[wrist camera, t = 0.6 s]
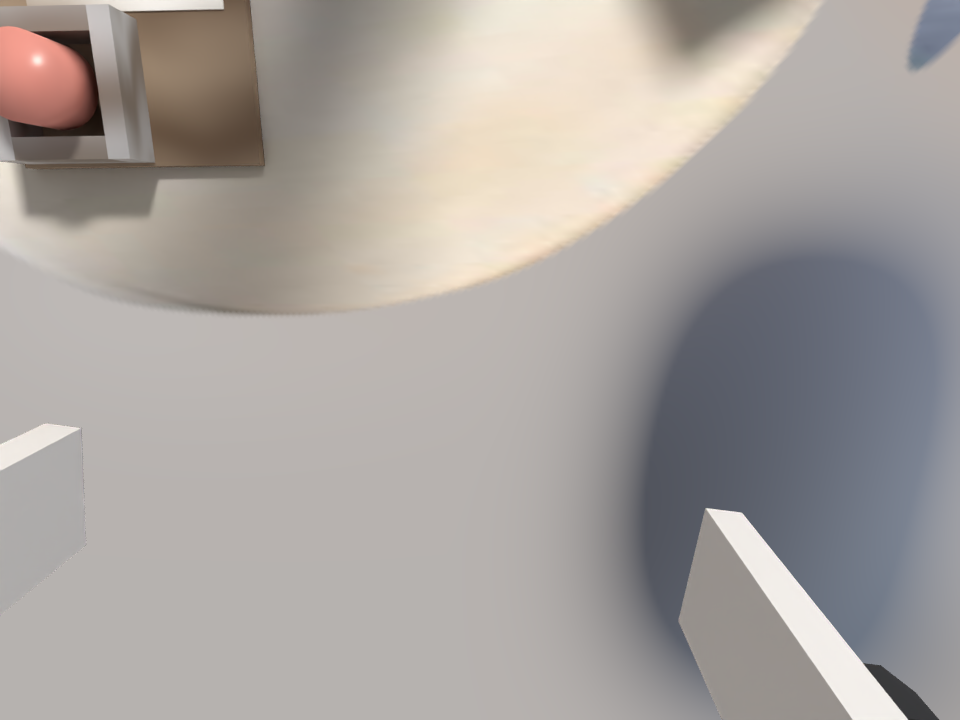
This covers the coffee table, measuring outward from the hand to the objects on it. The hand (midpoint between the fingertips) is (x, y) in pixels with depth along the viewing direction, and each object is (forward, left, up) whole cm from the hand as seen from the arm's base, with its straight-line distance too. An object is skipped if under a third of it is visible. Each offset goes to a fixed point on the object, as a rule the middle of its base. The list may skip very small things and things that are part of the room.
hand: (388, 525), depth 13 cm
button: (-13, -22, -23) cm, 34 cm away
